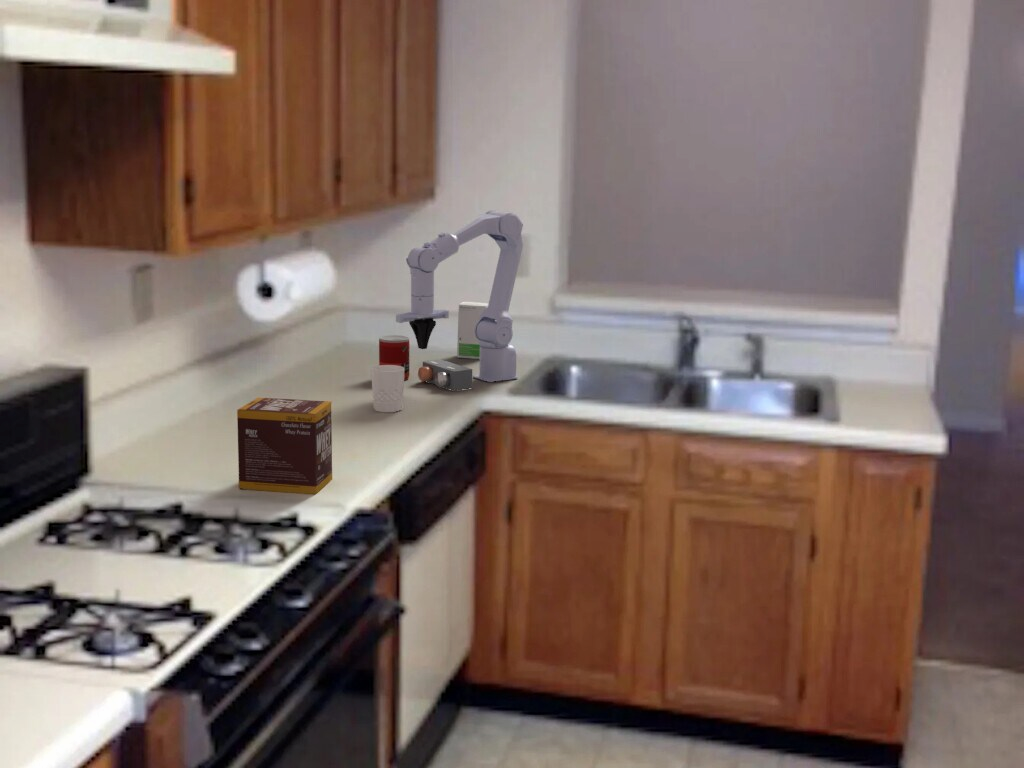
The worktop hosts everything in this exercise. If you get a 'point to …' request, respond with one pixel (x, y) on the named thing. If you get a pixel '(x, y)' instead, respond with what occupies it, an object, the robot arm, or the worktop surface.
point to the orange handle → (425, 373)
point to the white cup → (388, 387)
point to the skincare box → (469, 329)
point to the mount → (451, 374)
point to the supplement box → (285, 445)
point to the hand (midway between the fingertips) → (422, 348)
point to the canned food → (394, 352)
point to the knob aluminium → (442, 379)
